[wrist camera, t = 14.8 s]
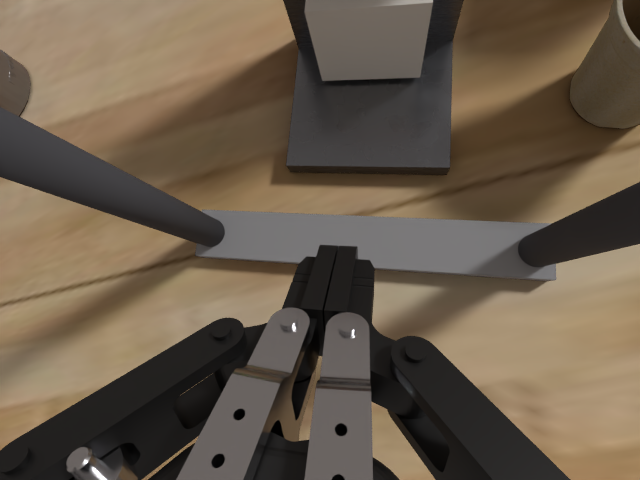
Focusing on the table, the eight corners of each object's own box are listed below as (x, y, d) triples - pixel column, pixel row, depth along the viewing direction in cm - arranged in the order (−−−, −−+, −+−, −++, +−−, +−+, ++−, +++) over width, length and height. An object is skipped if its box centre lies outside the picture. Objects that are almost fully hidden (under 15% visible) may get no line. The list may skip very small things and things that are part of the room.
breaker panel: (446, 174, 27) (552, -36, 10) (290, 172, 30) (172, -3, 13) (449, 23, 30) (540, -347, 13) (305, 32, 32) (222, -269, 15)
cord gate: (547, 281, 25) (1154, 194, 5) (202, 257, 30) (-129, 169, 10) (546, 227, 25) (1077, -22, 6) (208, 213, 30) (-91, 53, 11)
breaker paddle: (420, 77, 27) (433, 2, 21) (322, 80, 29) (304, 11, 22) (421, 44, 28) (434, -40, 21) (325, 49, 29) (308, -28, 23)
